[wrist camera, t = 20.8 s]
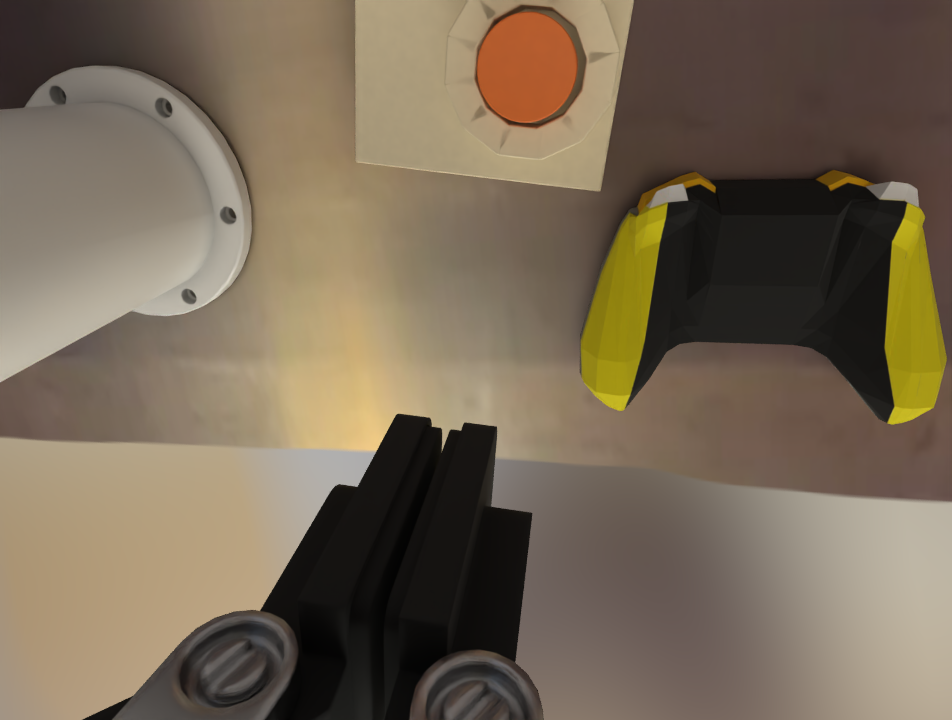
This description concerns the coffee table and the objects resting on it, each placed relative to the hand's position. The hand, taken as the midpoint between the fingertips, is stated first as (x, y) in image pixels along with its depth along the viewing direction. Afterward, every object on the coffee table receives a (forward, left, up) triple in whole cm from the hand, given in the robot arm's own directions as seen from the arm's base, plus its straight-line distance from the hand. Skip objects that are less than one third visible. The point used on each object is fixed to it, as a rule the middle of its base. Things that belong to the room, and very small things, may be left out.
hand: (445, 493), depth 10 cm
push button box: (-3, +6, -21) cm, 22 cm away
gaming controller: (+10, -2, -22) cm, 24 cm away
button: (-1, +6, -18) cm, 19 cm away
